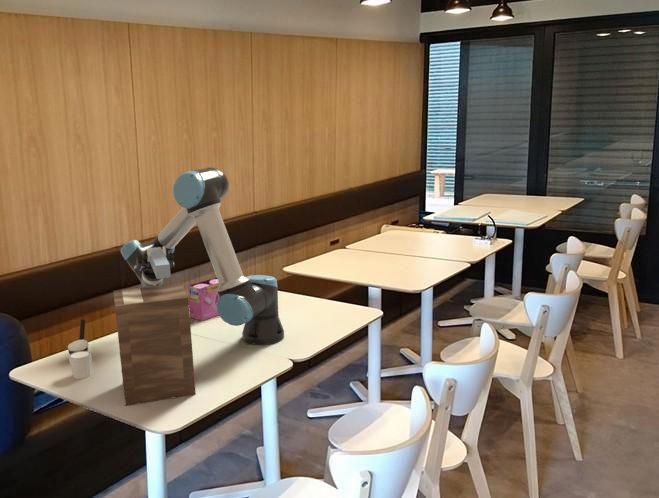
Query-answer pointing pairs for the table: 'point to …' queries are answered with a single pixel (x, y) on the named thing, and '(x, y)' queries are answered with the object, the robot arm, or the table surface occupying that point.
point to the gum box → (203, 299)
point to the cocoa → (79, 341)
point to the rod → (159, 263)
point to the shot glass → (81, 364)
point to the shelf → (155, 343)
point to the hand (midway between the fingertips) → (156, 251)
